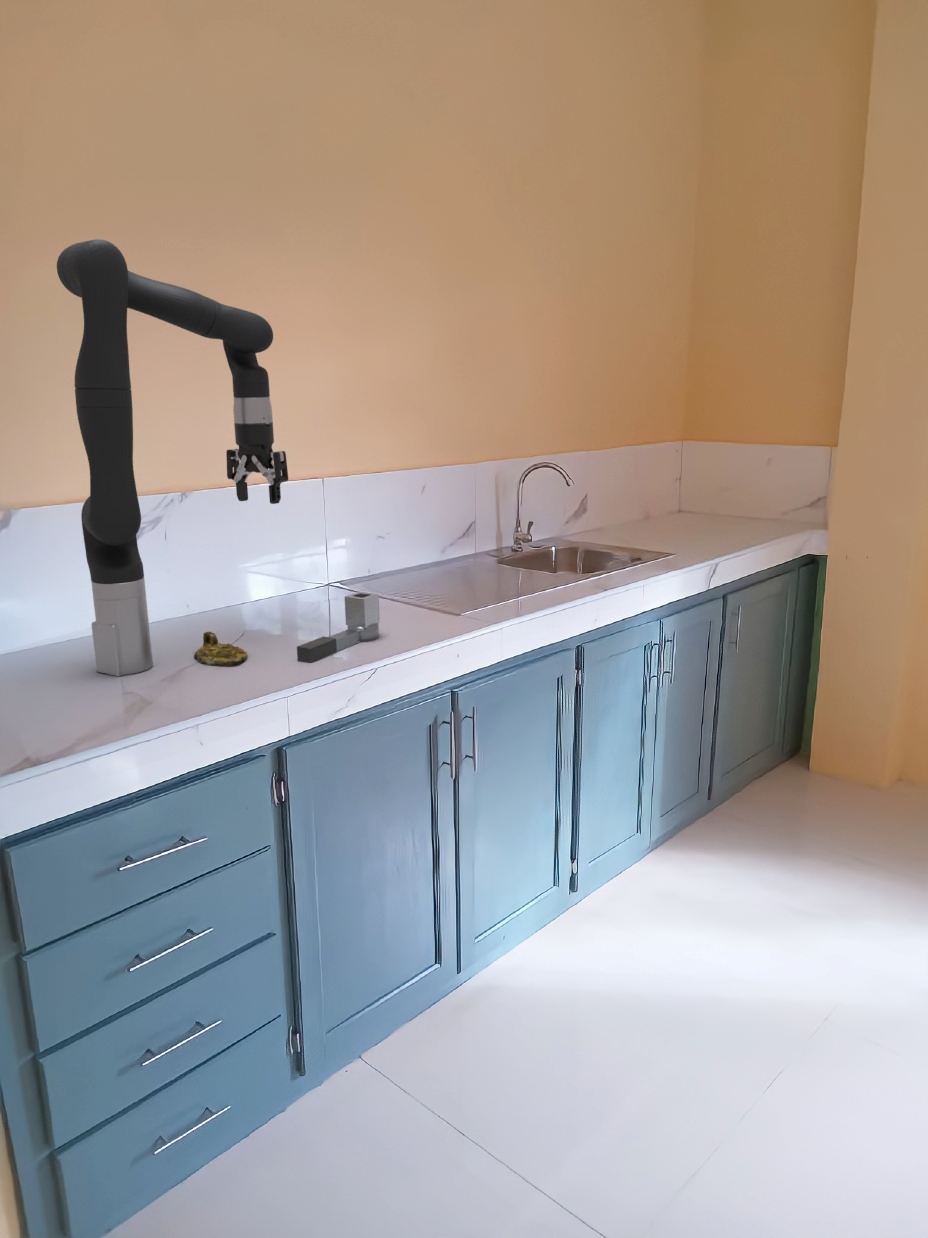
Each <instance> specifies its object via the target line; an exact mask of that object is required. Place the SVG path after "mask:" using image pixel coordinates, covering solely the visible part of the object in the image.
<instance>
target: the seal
mask: <svg viewBox="0 0 928 1238" xmlns="http://www.w3.org/2000/svg"><path fill="white" fill-rule="evenodd" d="M202 636H203V637H202V639H203V642H202V643H203V644H202V646H201V647H200V648H198V649H197V650H196V651H195V652H194V655H193V658H194V659H195V660H196V661H197V662H198V663H199V664H203V665H205V666H210V667H213V666H214V667H229V668H230V667H236V666H238V665H240V664H242V663H245V662H247V660H248V657H249V655H248V652H247V651H246V650H244V649H243V648H240V647H239V646H235V645H232V644H231V643H227V644H226V643H221V642H219V640H218V637H217V635H216V633H215V632H213V631H205V632H203V635H202Z"/></svg>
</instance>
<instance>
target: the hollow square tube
mask: <svg viewBox="0 0 928 1238" xmlns="http://www.w3.org/2000/svg"><path fill="white" fill-rule="evenodd" d="M344 612H345V613H344V615H345V625H346V626H348V625H350V626H356V627H362V628H367V627H369V626H372V625H374V624H377V623H379V624H380V622H381V621H380V616H381V615H380V594H379V593H371V592H366V591H365V592H364V591H357V592H355V593H351V594H348V595H346V596H344Z"/></svg>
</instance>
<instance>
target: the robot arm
mask: <svg viewBox="0 0 928 1238" xmlns="http://www.w3.org/2000/svg"><path fill="white" fill-rule="evenodd" d="M128 269H129V268H128V265H127V261H126V259H125V256H124V255H123V253H122V252H121V250H120V249H119V248H118V246H116V245H115V244H113V243H112V242H110V241H109V240H106V239H105V240H104V239H98V238H97V239H91V240H86V241H85V240H84V241H80V242H76V243H73V244H71V245H69V246H68V247H66V248H64V249H63V250H62V251H61V253H60V254H59V255H58V259H57V261H56V272H57V277H58V278H59V280H60V283H62V284H61V285H63V287H64V288H65V289H66V290H67V291H68V292H70V293H71V294H73V295H74V296H76V297H78V298H81V303H82V304H81V305H82V312H83V333H82V339H81V344H80V348H79V352H78V356H77V361H76V365H75V370H74V371H75V372H74V394H75V395H74V396H75V406H76V409H75V410H76V415H77V421H78V426H79V430H80V434H81V439H82V442H83V446H84V450H85V453H86V457H87V462H88V468H89V483H90V484H89V487H90V488H89V489H90V490H89V496H88V497H87V498H86V499H85V501H84V503H83V505H82V508H81V528H82V535H83V542H84V549H85V550H84V551H85V556H86V561H87V562H86V563H87V565H88V570H89V575H90V582H91V590H92V598H93V609H94V616H95V617H94V618H95V621H92V622H91V633H92V640H93V641H92V642H93V648H94V656H95V658H94V659H95V667H96V672H98V673H103V674H108V675H112V676H116V677H120V676H125V675H130V674H137V673H140V672H144V671H147V670H149V669H151V668H153V666H154V662H153V652H152V642H151V641H152V640H151V632H150V631H151V630H150V623H149V622H150V621H149V612H148V611H149V610H148V602H147V591H146V580H145V572H144V564H143V561H142V558H141V555H140V551H139V547H138V546H139V545H138V538H137V537H138V536H137V534H138V532H139V530H140V528H141V523H142V514H141V509H140V503H139V497H138V490H137V486H136V479H135V473H134V472H135V471H134V423H133V422H134V420H133V419H134V418H133V417H134V416H133V396H132V395H133V394H132V383H131V372H130V371H131V370H130V359H129V358H130V354H129V343H128V327H127V326H128V309H130V310H133V311H135V312H136V311H137V312H139V313H141V314H145V315H147V316H150V317H153V318H155V319H158V320H161V321H163V322H165V323H168V324H171V325H173V326H175V327H178V328H180V329H183V330H185V331H188V332H190V333H193V334H195V335H198V336H201V337H203V338H206V339H212V340H222V345H223V349H224V354H225V358H226V361H227V364H228V367H229V369H230V372H231V373H230V374H231V377H232V378H231V379H232V392H233V407H232V408H233V409H232V410H233V411H232V413H233V424H234V425H233V426H234V440H235V445H237V446H238V448H232V449H227V450H226V455H225V456H226V476H227V479H228V480H233V482H234V483H235V490H236V491H235V492H236V497H237V499H238V501H239V502H246V501H248V500H249V489H248V482H247V481H248V478H249V476H250V475H251V474H252V473H257V474H258V473H259V474H261V476H263V477H265V479H266V481H267V482H268V494H269V504H272V505H275V504H276V505H277V504H280V501H281V498H282V497H281V484H282V483H284V482H288V481H289V473H288V464H287V454H286V451H285V450H280V451H279V450H278V451H274V450H273V447H272V446H273V444H274V442H275V438H274V419H273V407H272V404H271V397H270V395H271V394H270V380H269V373H268V370H267V369H266V368H265V367H263V366H261V365H260V364H259V362H258V358H257V355H256V354H259V353H261V352H265V351H266V350H268V349H269V348H270V347H271V345H272V343H273V341H274V332H273V329H272V326H271V325H270V323H269V322H268V320H266V318H264V317H263V316H261V315H259V314H257V313H255V312H251V311H250V310H249V311H248V310H246V309H245V310H244V309H242V308H238V307H235V306H230V305H225V304H223V303H220V302H218V301H217V300H214V299H212V298H210V297H207V296H205V295H203V294H200V293H199V292H196V291H193V290H190V289H187V288H186V287H182V286H178V285H175V284H171V283H166V282H163V281H159V280H156V279H152V278H149V277H146V276H142V275H140V274H137V273H135V272H132V271H130V270H128Z"/></svg>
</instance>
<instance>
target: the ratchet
mask: <svg viewBox="0 0 928 1238" xmlns="http://www.w3.org/2000/svg"><path fill="white" fill-rule="evenodd" d="M379 625H380V622H379V623H377V624H374V625H372V626H369V627H367V628H362V627H356V626H350V625H347V629H345V630H343V631H340V632H338V633H334V634H333V635H329V636H321V637H318V638H316V639H313V640H310V641H308V642H306V643H303V644H300V645H298V646H296V654H297V661H298V662H304V663H310V664H311V663H313V662H317V661H318V660H322V659H324V658H326V657H328V656H329V657H330V656H332V655H333V654H336V653H338V652H339V651H342V650H345V649H347V648H349V647H351V646H354V645H356V644H359V643H362V642H363V643H366V642H372V641H376V640H379V638H380V628H379V627H380V626H379Z"/></svg>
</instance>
